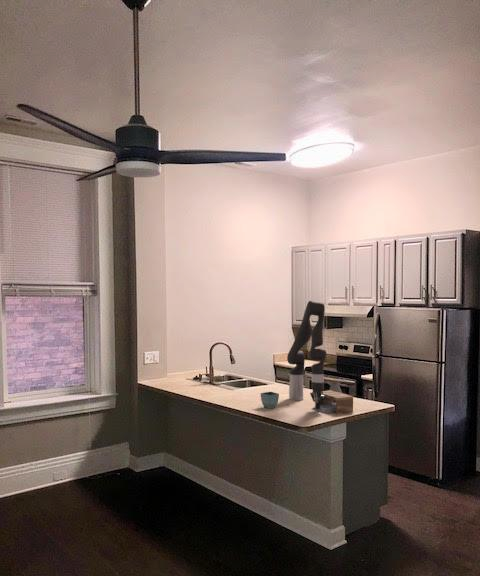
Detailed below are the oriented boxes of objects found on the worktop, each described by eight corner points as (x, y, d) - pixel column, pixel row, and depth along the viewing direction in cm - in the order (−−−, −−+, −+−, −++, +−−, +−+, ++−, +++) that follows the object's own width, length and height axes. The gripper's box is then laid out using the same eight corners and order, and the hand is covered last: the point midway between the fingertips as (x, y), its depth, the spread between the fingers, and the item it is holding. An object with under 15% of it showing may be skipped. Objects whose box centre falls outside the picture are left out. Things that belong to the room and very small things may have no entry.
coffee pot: (347, 401, 339) (347, 379, 339) (335, 403, 332) (335, 380, 332) (323, 396, 356) (324, 375, 356) (312, 398, 349) (312, 376, 349)
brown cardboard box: (315, 406, 321) (315, 391, 321) (330, 404, 327) (330, 390, 327) (337, 413, 302) (337, 397, 302) (353, 411, 307) (353, 396, 308)
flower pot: (268, 409, 312) (268, 395, 312) (259, 407, 319) (260, 393, 319) (279, 407, 317) (279, 393, 317) (270, 405, 324) (270, 391, 324)
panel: (314, 410, 313) (314, 405, 313) (335, 408, 320) (335, 403, 320) (324, 414, 304) (324, 409, 304) (345, 411, 311) (345, 406, 311)
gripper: (306, 379, 313) (306, 407, 313) (319, 383, 301) (319, 412, 301) (316, 379, 316) (316, 406, 316) (329, 382, 305) (329, 410, 304)
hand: (317, 409), depth 308 cm, fingers closed
